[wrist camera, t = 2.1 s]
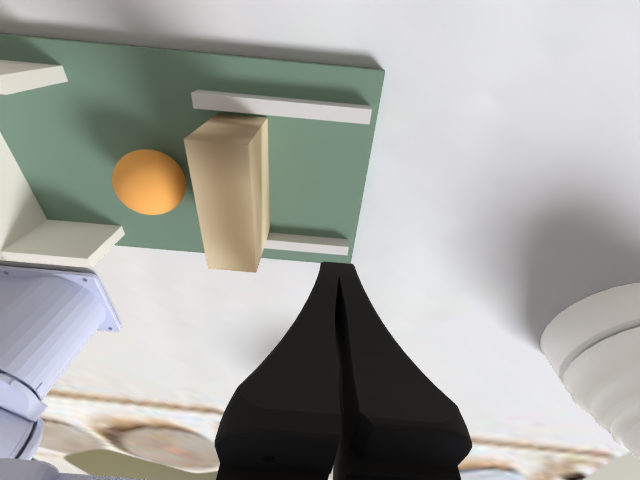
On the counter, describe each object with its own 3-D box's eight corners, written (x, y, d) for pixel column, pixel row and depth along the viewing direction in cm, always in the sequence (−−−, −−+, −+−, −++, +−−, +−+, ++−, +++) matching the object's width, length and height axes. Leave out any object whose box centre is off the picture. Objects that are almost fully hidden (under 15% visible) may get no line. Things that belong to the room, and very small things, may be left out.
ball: (143, 193, 21) (109, 224, 18) (127, 137, 19) (84, 160, 16) (199, 198, 22) (175, 230, 18) (190, 143, 19) (160, 167, 16)
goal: (41, 227, 24) (-6, 259, 20) (-55, 54, 17) (-149, 62, 14) (124, 234, 24) (91, 267, 20) (61, 65, 17) (-3, 75, 14)
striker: (230, 224, 23) (207, 268, 19) (217, 113, 18) (183, 139, 14) (270, 228, 23) (256, 272, 19) (267, 117, 18) (247, 145, 14)
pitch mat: (49, 233, 25) (32, 246, 23) (-63, 27, 17) (-102, 27, 15) (349, 259, 25) (350, 273, 24) (383, 69, 17) (387, 73, 16)
